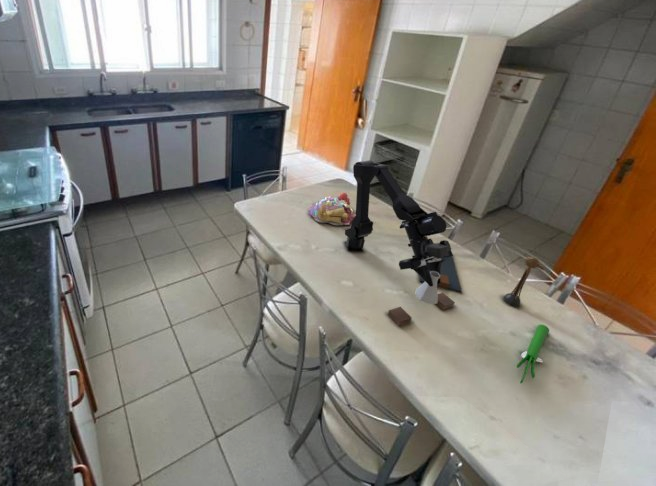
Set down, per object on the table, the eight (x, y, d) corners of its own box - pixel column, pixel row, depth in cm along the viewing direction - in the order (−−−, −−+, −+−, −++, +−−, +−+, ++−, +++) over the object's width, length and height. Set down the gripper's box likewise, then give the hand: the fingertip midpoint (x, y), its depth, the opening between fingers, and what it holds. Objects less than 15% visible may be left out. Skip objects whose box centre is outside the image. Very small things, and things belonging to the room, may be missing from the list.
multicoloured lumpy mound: (360, 228, 158) (364, 211, 154) (311, 225, 158) (314, 209, 154) (348, 203, 180) (351, 188, 176) (305, 200, 180) (307, 185, 176)
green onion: (533, 328, 109) (508, 380, 91) (538, 321, 108) (513, 372, 89) (551, 338, 106) (529, 394, 87) (556, 331, 105) (535, 386, 86)
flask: (440, 306, 108) (450, 283, 103) (417, 302, 109) (426, 279, 104) (434, 290, 114) (443, 268, 109) (412, 287, 115) (420, 265, 110)
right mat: (419, 282, 126) (421, 277, 124) (416, 246, 147) (417, 241, 145) (460, 293, 121) (463, 287, 120) (450, 254, 142) (453, 249, 141)
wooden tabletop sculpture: (525, 306, 117) (550, 262, 108) (518, 310, 115) (543, 266, 106) (507, 295, 122) (529, 251, 113) (500, 299, 120) (523, 255, 111)
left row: (387, 314, 111) (389, 310, 110) (441, 296, 120) (442, 292, 119) (398, 326, 107) (400, 321, 106) (453, 306, 115) (454, 302, 115)
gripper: (415, 239, 100) (434, 291, 96) (457, 228, 107) (476, 276, 103) (390, 245, 110) (407, 292, 106) (430, 234, 117) (447, 278, 113)
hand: (435, 284), depth 107 cm, fingers closed on flask, 3 cm apart
